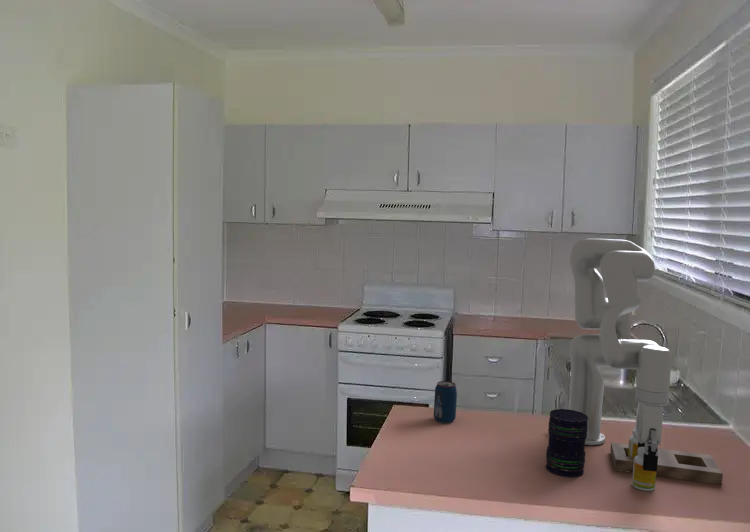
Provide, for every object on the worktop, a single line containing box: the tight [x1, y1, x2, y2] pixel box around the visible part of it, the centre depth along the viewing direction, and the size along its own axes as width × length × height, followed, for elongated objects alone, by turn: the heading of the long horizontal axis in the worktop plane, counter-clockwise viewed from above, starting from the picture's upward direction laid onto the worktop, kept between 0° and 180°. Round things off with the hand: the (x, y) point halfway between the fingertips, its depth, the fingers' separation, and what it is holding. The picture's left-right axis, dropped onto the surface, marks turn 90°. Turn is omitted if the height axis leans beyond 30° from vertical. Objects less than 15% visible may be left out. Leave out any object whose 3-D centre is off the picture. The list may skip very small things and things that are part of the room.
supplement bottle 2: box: [631, 447, 657, 492], centre depth 167 cm, size 5×5×10 cm
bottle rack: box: [609, 442, 724, 486], centre depth 180 cm, size 26×13×3 cm, turn 76°
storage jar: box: [545, 408, 588, 479], centre depth 175 cm, size 10×10×15 cm
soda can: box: [433, 380, 458, 425], centre depth 210 cm, size 7×7×12 cm
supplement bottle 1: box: [628, 428, 651, 458], centre depth 182 cm, size 5×5×10 cm
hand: (646, 463), depth 167 cm, fingers open, 9 cm apart
